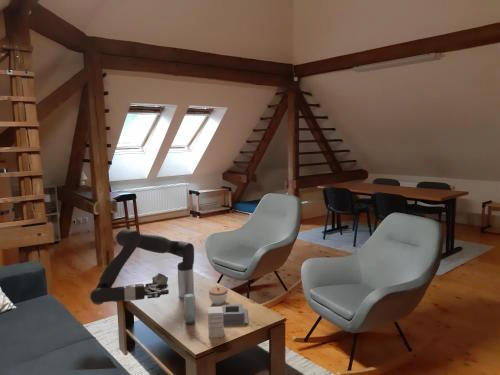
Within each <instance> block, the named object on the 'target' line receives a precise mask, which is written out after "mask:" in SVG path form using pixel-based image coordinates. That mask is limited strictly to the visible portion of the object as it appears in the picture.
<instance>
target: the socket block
mask: <svg viewBox="0 0 500 375" xmlns="http://www.w3.org/2000/svg"><path fill="white" fill-rule="evenodd" d="M221 306H222V307H223V327H224V326H227V327H228V326H244V325H243V324H248V325H249V320H248V310H247V309H248V308H243V304H221Z"/></svg>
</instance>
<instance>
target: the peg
mask: <svg viewBox="0 0 500 375" xmlns="http://www.w3.org/2000/svg"><path fill="white" fill-rule="evenodd" d="M183 299H184V300H183V301H184V302H183V303H184V322H185V323H184V324H185V325H186V326H194V325H195V324H196V317H195V316H196V313H195V294H194V295H193V294H186V295H184V298H183Z"/></svg>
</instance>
